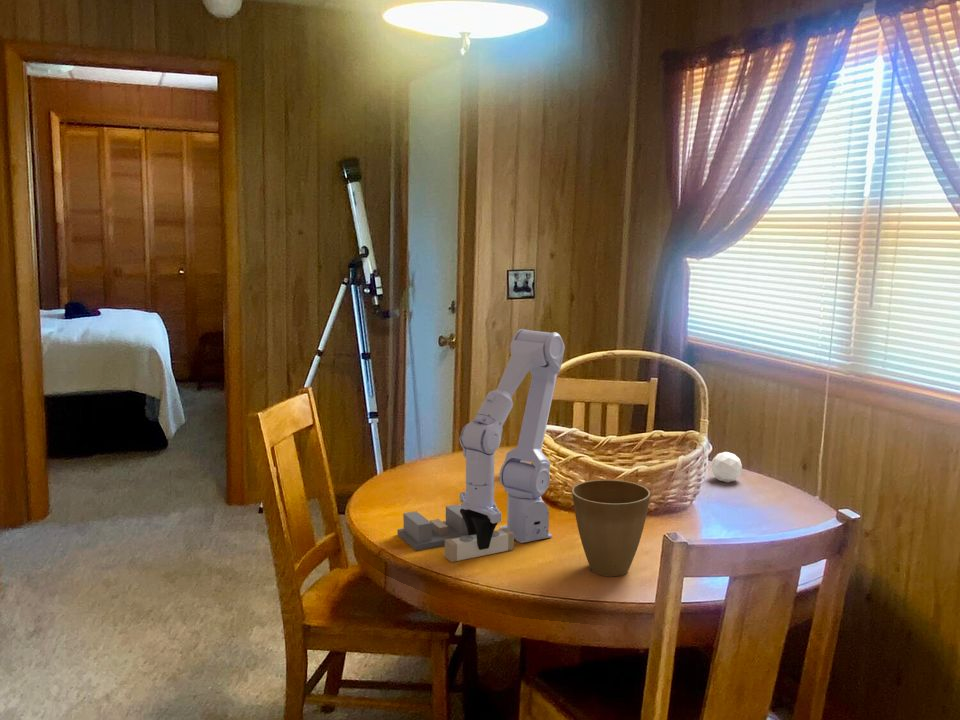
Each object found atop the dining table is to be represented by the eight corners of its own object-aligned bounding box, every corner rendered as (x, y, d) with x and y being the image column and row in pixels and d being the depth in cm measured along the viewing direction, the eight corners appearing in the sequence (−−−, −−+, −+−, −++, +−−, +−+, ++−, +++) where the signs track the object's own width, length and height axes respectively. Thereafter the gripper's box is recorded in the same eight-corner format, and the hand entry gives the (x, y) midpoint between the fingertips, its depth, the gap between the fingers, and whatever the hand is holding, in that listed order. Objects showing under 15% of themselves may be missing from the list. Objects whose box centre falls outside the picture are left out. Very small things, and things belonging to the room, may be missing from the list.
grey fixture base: (459, 523, 191) (460, 502, 190) (480, 538, 182) (480, 516, 181) (397, 534, 184) (397, 512, 183) (416, 550, 175) (415, 527, 174)
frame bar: (513, 549, 176) (513, 532, 175) (451, 562, 169) (451, 544, 169) (505, 544, 179) (506, 527, 178) (444, 556, 172) (444, 539, 171)
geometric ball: (727, 488, 225) (742, 463, 226) (735, 487, 217) (751, 460, 218) (702, 473, 226) (717, 447, 227) (709, 471, 218) (725, 444, 219)
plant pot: (640, 554, 174) (643, 479, 171) (652, 586, 159) (656, 504, 157) (567, 553, 175) (569, 477, 172) (572, 584, 160) (574, 502, 157)
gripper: (446, 474, 176) (446, 536, 178) (479, 494, 163) (478, 561, 166) (476, 469, 179) (476, 531, 181) (511, 489, 166) (510, 555, 169)
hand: (479, 545), depth 174 cm, fingers closed on frame bar, 3 cm apart
